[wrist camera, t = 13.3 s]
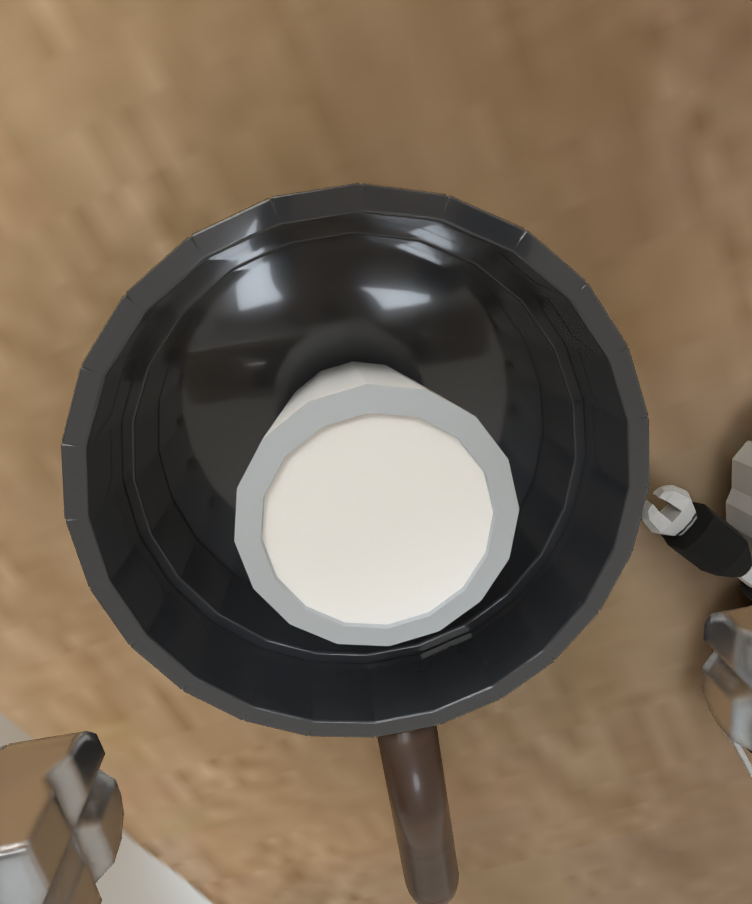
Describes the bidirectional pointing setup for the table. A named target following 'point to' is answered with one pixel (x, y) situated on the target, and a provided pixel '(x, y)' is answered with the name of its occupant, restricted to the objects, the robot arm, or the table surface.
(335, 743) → the table surface
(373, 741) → the table surface
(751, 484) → the robot toy
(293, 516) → the white cylinder
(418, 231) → the pan
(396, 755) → the pan handle
